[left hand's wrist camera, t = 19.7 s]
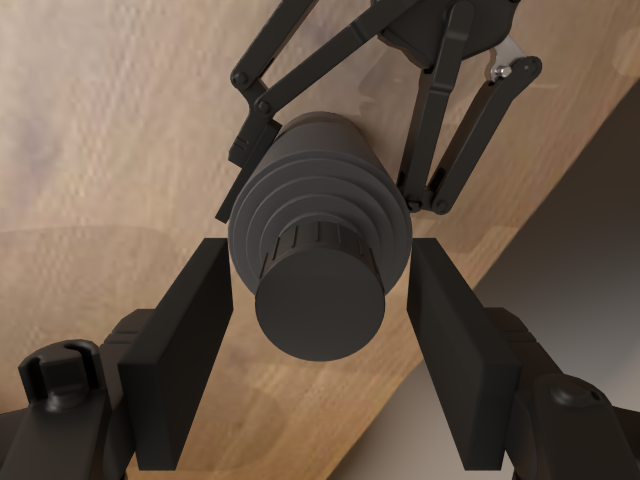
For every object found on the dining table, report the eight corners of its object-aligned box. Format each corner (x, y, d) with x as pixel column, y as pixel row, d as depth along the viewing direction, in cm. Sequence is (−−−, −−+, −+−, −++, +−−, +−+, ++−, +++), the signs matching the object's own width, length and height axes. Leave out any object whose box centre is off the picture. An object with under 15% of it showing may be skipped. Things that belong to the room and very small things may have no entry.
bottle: (382, 128, 32) (483, 219, 12) (351, 220, 34) (393, 416, 15) (284, 98, 31) (224, 143, 11) (260, 194, 33) (178, 366, 14)
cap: (286, 334, 16) (281, 377, 13) (245, 239, 14) (231, 270, 12) (389, 304, 15) (401, 343, 13) (357, 203, 14) (364, 228, 12)
